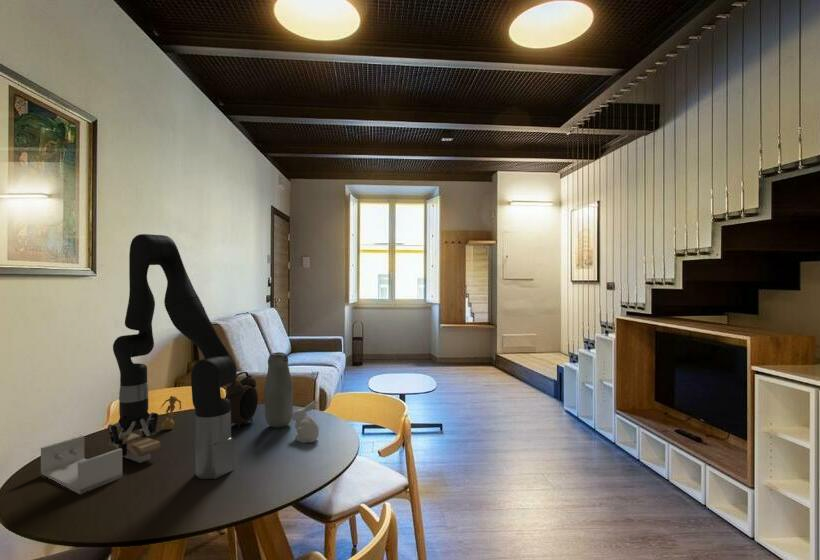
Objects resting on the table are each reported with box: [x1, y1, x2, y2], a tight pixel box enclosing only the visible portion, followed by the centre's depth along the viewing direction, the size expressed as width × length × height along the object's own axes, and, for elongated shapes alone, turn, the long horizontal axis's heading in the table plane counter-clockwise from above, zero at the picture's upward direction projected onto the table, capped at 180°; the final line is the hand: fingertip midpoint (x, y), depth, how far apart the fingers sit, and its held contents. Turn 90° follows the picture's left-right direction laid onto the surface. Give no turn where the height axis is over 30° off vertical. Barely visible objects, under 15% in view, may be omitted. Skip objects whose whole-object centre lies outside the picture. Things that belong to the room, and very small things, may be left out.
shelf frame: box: [40, 434, 123, 495], centre depth 113 cm, size 22×10×8 cm, turn 63°
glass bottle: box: [263, 352, 294, 429], centre depth 152 cm, size 10×10×28 cm
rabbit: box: [291, 400, 320, 444], centre depth 140 cm, size 12×9×12 cm
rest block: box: [122, 452, 151, 464], centre depth 126 cm, size 12×3×3 cm, turn 63°
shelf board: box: [108, 432, 161, 457], centre depth 126 cm, size 18×6×2 cm, turn 63°
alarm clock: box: [224, 371, 259, 430], centre depth 154 cm, size 15×7×20 cm, turn 168°
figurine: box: [160, 395, 182, 431], centre depth 150 cm, size 8×6×12 cm
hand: (134, 451), depth 126 cm, fingers closed on shelf board, 5 cm apart
